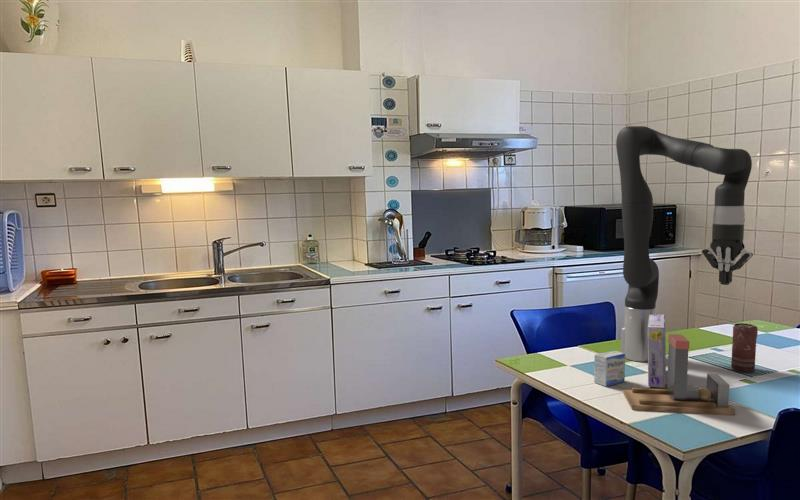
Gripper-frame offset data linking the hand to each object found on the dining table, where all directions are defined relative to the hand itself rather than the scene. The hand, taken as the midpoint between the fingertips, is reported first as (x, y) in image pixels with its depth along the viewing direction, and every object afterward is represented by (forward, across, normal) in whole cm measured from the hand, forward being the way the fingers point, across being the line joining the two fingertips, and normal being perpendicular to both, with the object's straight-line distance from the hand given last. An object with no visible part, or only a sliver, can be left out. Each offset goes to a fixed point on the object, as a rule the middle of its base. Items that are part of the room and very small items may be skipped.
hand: (725, 284), depth 154 cm
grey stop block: (+28, +7, -16) cm, 33 cm away
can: (+29, -2, +18) cm, 34 cm away
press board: (+29, 0, -23) cm, 37 cm away
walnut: (+28, +5, -18) cm, 34 cm away
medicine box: (+29, -20, -23) cm, 42 cm away
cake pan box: (+29, -14, -9) cm, 34 cm away
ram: (+27, +1, -22) cm, 35 cm away
